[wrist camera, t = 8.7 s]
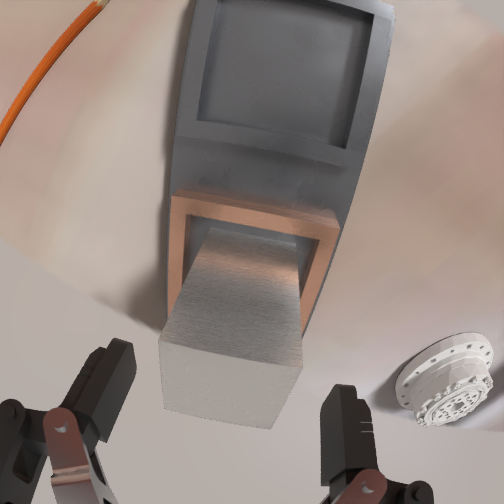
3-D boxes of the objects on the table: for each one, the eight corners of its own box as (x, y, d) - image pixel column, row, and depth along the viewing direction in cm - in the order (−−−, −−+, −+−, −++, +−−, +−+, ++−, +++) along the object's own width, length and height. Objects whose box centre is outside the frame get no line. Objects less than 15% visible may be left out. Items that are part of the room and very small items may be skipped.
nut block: (295, 244, 16) (302, 368, 9) (277, 309, 18) (270, 429, 11) (210, 227, 16) (158, 340, 9) (202, 294, 18) (164, 408, 11)
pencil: (-20, 175, 16) (-27, 179, 16) (124, -21, 10) (117, -25, 9) (-16, 183, 17) (-23, 186, 16) (131, -13, 10) (124, -17, 9)
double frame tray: (388, 18, 10) (403, 10, 8) (299, 334, 20) (300, 356, 19) (206, -17, 10) (196, -30, 8) (170, 309, 20) (161, 329, 18)
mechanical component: (375, 375, 23) (415, 409, 25) (384, 418, 19) (423, 443, 22) (475, 310, 18) (494, 360, 21) (498, 349, 15) (509, 393, 18)
